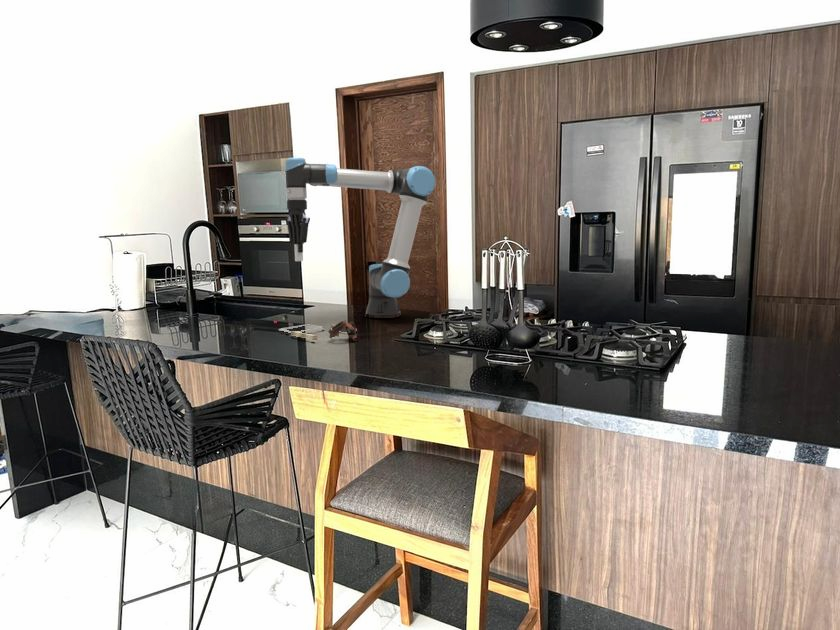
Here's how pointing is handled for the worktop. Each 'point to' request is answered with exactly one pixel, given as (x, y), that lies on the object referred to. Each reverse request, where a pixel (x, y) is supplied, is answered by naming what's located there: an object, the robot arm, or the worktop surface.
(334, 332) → the broken clay vessel
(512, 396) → the worktop surface
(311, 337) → the guide channel
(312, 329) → the tray
